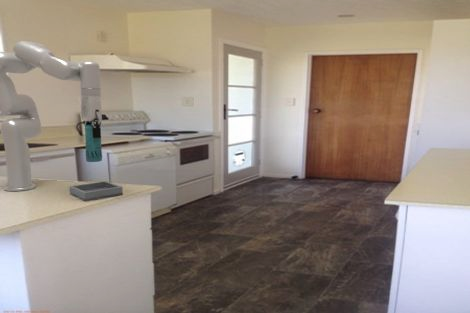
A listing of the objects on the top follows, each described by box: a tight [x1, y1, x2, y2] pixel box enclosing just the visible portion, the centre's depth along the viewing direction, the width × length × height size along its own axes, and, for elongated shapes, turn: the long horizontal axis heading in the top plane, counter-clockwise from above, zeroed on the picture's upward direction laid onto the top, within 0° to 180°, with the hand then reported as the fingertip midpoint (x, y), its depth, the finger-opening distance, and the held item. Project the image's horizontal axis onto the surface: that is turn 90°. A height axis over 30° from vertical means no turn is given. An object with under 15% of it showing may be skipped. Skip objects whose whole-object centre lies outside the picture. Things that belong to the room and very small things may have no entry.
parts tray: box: [69, 180, 123, 202], centre depth 164 cm, size 16×16×4 cm
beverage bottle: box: [84, 119, 103, 163], centre depth 161 cm, size 6×7×20 cm
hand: (93, 136), depth 161 cm, fingers closed on beverage bottle, 6 cm apart
